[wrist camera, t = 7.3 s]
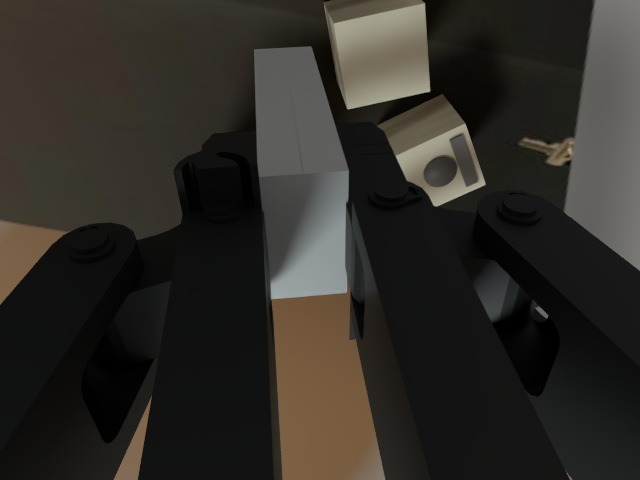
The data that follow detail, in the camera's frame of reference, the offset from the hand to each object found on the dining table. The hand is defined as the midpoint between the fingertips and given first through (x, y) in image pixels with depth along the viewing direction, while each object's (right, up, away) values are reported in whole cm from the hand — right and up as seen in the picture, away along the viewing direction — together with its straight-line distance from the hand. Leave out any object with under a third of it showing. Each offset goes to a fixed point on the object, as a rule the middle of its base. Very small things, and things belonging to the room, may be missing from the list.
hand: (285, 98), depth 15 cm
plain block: (+5, +12, +26) cm, 29 cm away
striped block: (+10, +5, +32) cm, 34 cm away
